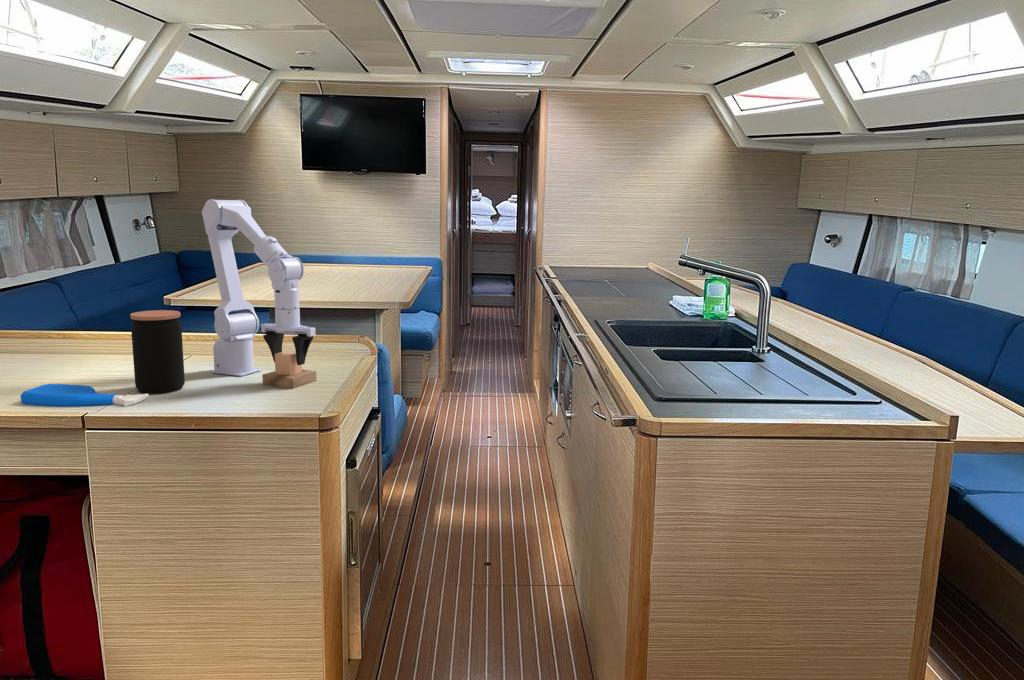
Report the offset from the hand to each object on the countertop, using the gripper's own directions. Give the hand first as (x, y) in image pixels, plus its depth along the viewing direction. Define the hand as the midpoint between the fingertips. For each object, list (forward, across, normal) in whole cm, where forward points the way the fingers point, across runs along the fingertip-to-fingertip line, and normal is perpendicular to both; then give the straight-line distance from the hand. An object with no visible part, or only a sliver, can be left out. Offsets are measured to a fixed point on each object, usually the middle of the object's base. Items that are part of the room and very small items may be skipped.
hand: (289, 363), depth 188 cm
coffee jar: (+5, -23, -18) cm, 30 cm away
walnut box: (+5, 0, 0) cm, 5 cm away
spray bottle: (+6, -29, -33) cm, 44 cm away
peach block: (+2, 0, 0) cm, 2 cm away
